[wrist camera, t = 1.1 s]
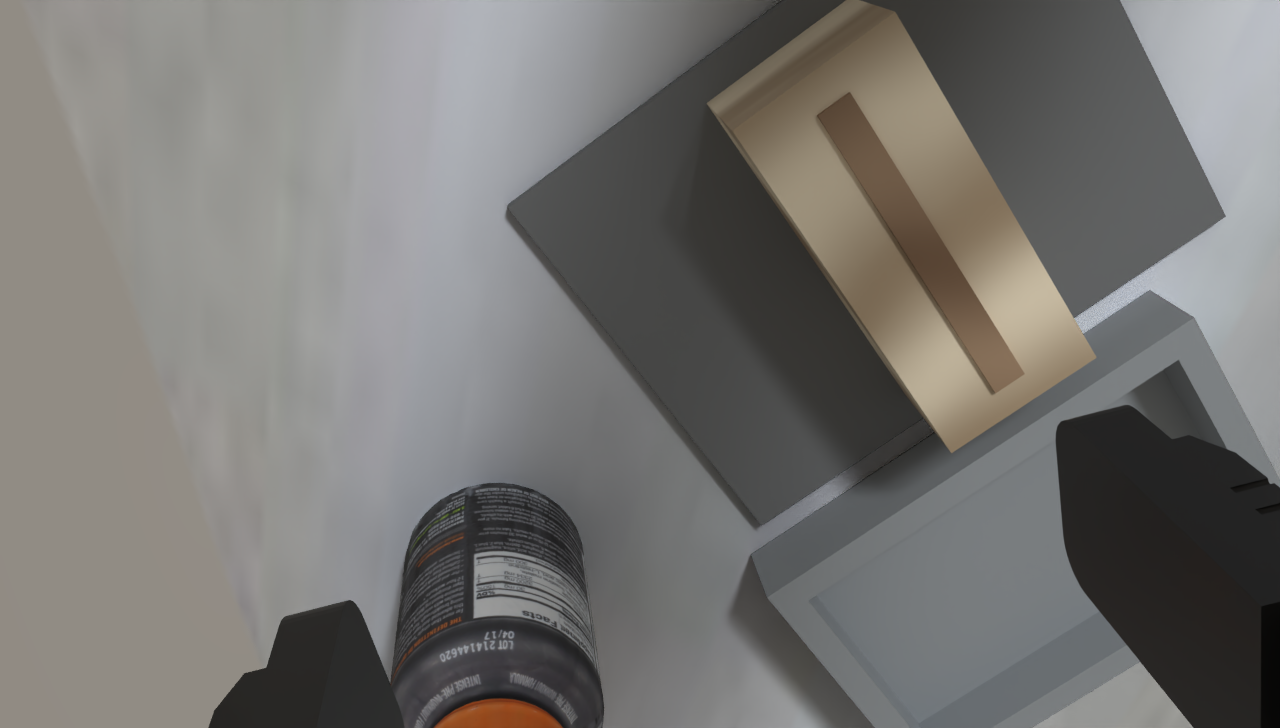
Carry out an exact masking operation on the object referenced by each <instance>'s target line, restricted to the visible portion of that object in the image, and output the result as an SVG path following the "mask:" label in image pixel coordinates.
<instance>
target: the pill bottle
mask: <svg viewBox="0 0 1280 728" xmlns="http://www.w3.org/2000/svg"><path fill="white" fill-rule="evenodd" d="M390 685H391V687H392V690H393V692H394V695H395V697H396V700H397V702H398V705H399V708H400V711H401V714H402V718H403V722H404V727H405V728H602V725H603V715H604V703H603V694H602V688H601V681H600V673H599V665H598V657H597V649H596V641H595V634H594V627H593V620H592V613H591V606H590V598H589V592H588V585H587V578H586V571H585V563H584V554H583V548H582V543H581V540H580V537H579V534H578V531H577V529H576V527H575V525H574V523H573V522H572V520H571V519H570V517H569V516H568V515H567V514H566V512H565V511H564V510H563V509H562V508H561V507H560V506H559V505H557V504H556V503H555V502H553V501H552V500H550V499H549V498H548V497H546V496H545V495H543V494H540V493H539V492H537V491H535V490H532V489H529V488H526V487H522V486H518V485H514V484H505V483H487V484H481V485H476V486H471V487H467V488H464V489H461V490H460V491H458V492H456V493H453V494H450V495H449V496H447V497H445V498H443V499H442V500H440V501H439V502H438V503H437V504H435V505H434V506H433V507H432V508H431V509H430V510H429V511H428V512H427V513H426V514H425V515H424V516H423V517H422V519H421V520H420V521H419V523H418V524H417V526H416V527H415V529H414V531H413V533H412V536H411V540H410V543H409V546H408V549H407V553H406V558H405V564H404V573H403V583H402V592H401V600H400V609H399V617H398V625H397V632H396V642H395V650H394V658H393V667H392V675H391V682H390Z"/></svg>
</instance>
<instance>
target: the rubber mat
mask: <svg viewBox="0 0 1280 728" xmlns="http://www.w3.org/2000/svg"><path fill="white" fill-rule="evenodd" d="M844 1H846V0H782V1H781V2H780V3H778V4H777V5H776V6H774V7H773V8H772V9H770V10H769V11H767V12H766V13H765V14H763V15H762V16H761V17H759V18H758V19H757V20H755V21H754V22H753V23H751V24H750V25H749V26H747V27H746V28H745V29H743V30H742V31H741V32H739V33H738V34H737V35H735V36H734V37H733V38H731V39H730V40H729V41H727V42H726V43H724V44H723V45H722V46H720V47H719V48H718V49H716V50H715V51H714V52H712V53H711V54H710V55H708V56H707V57H706V58H704V59H703V60H702V61H700V62H699V63H698V64H696V65H695V66H694V67H692V68H691V69H690V70H688V71H687V72H686V73H684V74H683V75H681V76H680V77H679V78H677V79H676V80H675V81H673V82H672V83H671V84H669V85H668V86H667V87H665V88H664V89H663V90H661V91H660V92H659V93H657V94H656V95H655V96H653V97H652V98H651V99H649V100H648V101H647V102H645V103H644V104H643V105H641V106H640V107H639V108H637V109H636V110H634V111H633V112H632V113H630V114H629V115H628V116H626V117H625V118H624V119H622V120H621V121H620V122H618V123H617V124H616V125H614V126H613V127H612V128H610V129H609V130H608V131H606V132H605V133H604V134H602V135H601V136H600V137H598V138H597V139H596V140H594V141H593V142H591V143H590V144H589V145H587V146H586V147H585V148H583V149H582V150H581V151H579V152H578V153H577V154H575V155H574V156H573V157H571V158H570V159H569V160H567V161H566V162H565V163H563V164H562V165H561V166H559V167H558V168H557V169H555V170H554V171H553V172H551V173H550V174H549V175H547V176H546V177H544V178H543V179H542V180H540V181H539V182H538V183H536V184H535V185H534V186H532V187H531V188H530V189H528V190H527V191H526V192H524V193H523V194H522V195H520V196H519V197H518V198H516V199H515V200H514V201H512V202H511V203H510V204H508V209H509V210H510V212H511V213H512V214H513V215H514V217H515V218H516V219H517V220H518V222H519V223H520V224H521V225H522V227H523V228H524V229H525V230H526V232H527V233H528V234H529V236H530V237H531V238H532V239H533V241H534V242H535V243H536V244H537V246H538V247H539V248H540V249H541V251H542V252H543V253H544V254H545V256H546V257H547V258H548V259H549V261H550V262H551V263H552V264H553V266H554V267H555V268H556V269H557V271H558V272H559V273H560V274H561V276H562V277H563V278H564V279H565V281H566V282H567V283H568V284H569V286H570V287H571V288H572V289H573V291H574V292H575V293H576V294H577V296H578V297H579V298H580V299H581V301H582V302H583V303H584V304H585V306H586V307H587V308H588V309H589V311H590V312H591V313H592V314H593V316H594V317H595V318H596V319H597V321H598V322H599V323H600V324H601V326H602V327H603V328H604V329H605V331H606V332H607V333H608V334H609V336H610V337H611V338H612V339H613V341H614V342H615V343H616V344H617V346H618V347H619V348H620V349H621V351H622V352H623V353H624V354H625V356H626V357H627V358H628V359H629V361H630V362H631V363H632V364H633V366H634V367H635V368H636V369H637V371H638V372H639V373H640V374H641V376H642V377H643V378H644V379H645V381H646V382H647V383H648V384H649V386H650V387H651V388H652V389H653V391H654V392H655V393H656V394H657V396H658V397H659V398H660V399H661V401H662V402H663V403H664V404H665V406H666V407H667V408H668V409H669V411H670V412H671V413H672V414H673V416H674V417H675V418H676V419H677V421H678V422H679V423H680V424H681V426H682V427H683V428H684V429H685V431H686V432H687V433H688V434H689V436H690V437H691V438H692V439H693V441H694V442H695V443H696V444H697V446H698V447H699V448H700V449H701V451H702V452H703V453H704V454H705V456H706V457H707V458H708V459H709V461H710V462H711V463H712V464H713V466H714V467H715V468H716V469H717V471H718V472H719V473H720V474H721V476H722V477H723V478H724V479H725V481H726V482H727V483H728V484H729V486H730V487H731V488H732V489H733V491H734V492H735V493H736V494H737V496H738V497H739V498H740V499H741V501H742V502H743V503H744V504H745V506H746V507H747V508H748V509H749V511H750V512H751V513H752V514H753V516H754V517H755V518H756V519H757V521H758V522H759V523H760V524H761V526H762V525H763V524H765V523H766V522H768V521H769V520H771V519H772V518H774V517H775V516H777V515H778V514H780V513H782V512H783V511H785V510H786V509H788V508H789V507H791V506H792V505H794V504H795V503H797V502H798V501H800V500H801V499H803V498H804V497H806V496H807V495H809V494H810V493H812V492H813V491H815V490H816V489H818V488H819V487H821V486H822V485H824V484H825V483H827V482H828V481H830V480H831V479H833V478H834V477H836V476H837V475H839V474H840V473H842V472H843V471H845V470H846V469H848V468H849V467H851V466H852V465H854V464H855V463H857V462H858V461H860V460H861V459H863V458H864V457H866V456H867V455H869V454H870V453H872V452H873V451H875V450H876V449H878V448H879V447H881V446H882V445H884V444H885V443H887V442H888V441H890V440H891V439H893V438H894V437H896V436H897V435H899V434H900V433H902V432H903V431H905V430H906V429H908V428H909V427H911V426H912V425H914V424H915V423H917V422H918V421H920V420H921V419H923V417H922V415H921V414H920V413H919V412H918V410H917V409H916V408H915V407H914V405H913V404H912V403H911V401H910V400H909V399H908V398H907V396H906V395H905V393H904V392H903V390H902V389H901V387H900V386H899V385H898V383H897V382H896V380H895V379H894V377H893V376H892V374H891V373H890V371H889V370H888V368H887V367H886V365H885V364H884V363H883V361H882V360H881V358H880V357H879V355H878V354H877V352H876V351H875V349H874V348H873V346H872V345H871V344H870V342H869V341H868V339H867V338H866V336H865V335H864V333H863V332H862V330H861V329H860V327H859V326H858V324H857V323H856V322H855V320H854V319H853V317H852V316H851V314H850V313H849V311H848V310H847V308H846V307H845V305H844V304H843V302H842V301H841V300H840V298H839V297H838V295H837V294H836V292H835V291H834V289H833V288H832V286H831V285H830V283H829V282H828V281H827V279H826V278H825V276H824V275H823V273H822V272H821V270H820V269H819V267H818V266H817V264H816V263H815V261H814V260H813V259H812V257H811V256H810V254H809V253H808V251H807V250H806V248H805V247H804V245H803V244H802V242H801V241H800V240H799V238H798V237H797V235H796V234H795V232H794V231H793V229H792V228H791V226H790V225H789V223H788V222H787V220H786V219H785V218H784V216H783V215H782V213H781V212H780V210H779V209H778V207H777V206H776V204H775V203H774V201H773V200H772V199H771V197H770V196H769V194H768V193H767V191H766V190H765V188H764V187H763V185H762V184H761V182H760V181H759V179H758V178H757V177H756V175H755V174H754V172H753V171H752V169H751V168H750V166H749V165H748V163H747V162H746V160H745V159H744V158H743V156H742V155H741V153H740V152H739V150H738V149H737V147H736V146H735V144H734V143H733V141H732V140H731V138H730V137H729V136H728V134H727V133H726V131H725V130H724V128H723V127H722V125H721V124H720V122H719V121H718V119H717V118H716V116H715V115H714V114H713V112H712V111H711V109H710V108H709V106H708V105H707V102H709V101H710V100H711V99H713V98H714V97H716V96H717V95H718V94H720V93H721V92H722V91H724V90H725V89H726V88H728V87H729V86H730V85H732V84H733V83H735V82H736V81H737V80H739V79H740V78H741V77H743V76H744V75H745V74H747V73H748V72H749V71H751V70H752V69H754V68H755V67H756V66H758V65H759V64H760V63H762V62H763V61H764V60H766V59H767V58H768V57H770V56H771V55H773V54H774V53H775V52H777V51H778V50H779V49H781V48H782V47H783V46H785V45H786V44H787V43H789V42H790V41H792V40H793V39H794V38H796V37H797V36H798V35H800V34H801V33H802V32H804V31H805V30H806V29H808V28H809V27H810V26H812V25H813V24H815V23H816V22H817V21H819V20H820V19H821V18H823V17H824V16H825V15H827V14H828V13H829V12H831V11H832V10H834V9H835V8H836V7H838V6H839V5H840V4H842V3H843V2H844ZM860 1H864V2H867V3H870V4H873V5H876V6H879V7H882V8H885V9H889V10H892V11H895V12H896V14H897V16H898V17H899V19H900V21H901V22H902V24H903V26H904V28H905V29H906V31H907V33H908V34H909V36H910V38H911V40H912V41H913V43H914V45H915V46H916V48H917V50H918V52H919V53H920V55H921V57H922V58H923V60H924V62H925V64H926V65H927V67H928V69H929V70H930V72H931V74H932V76H933V77H934V79H935V81H936V83H937V84H938V86H939V88H940V89H941V91H942V93H943V95H944V96H945V98H946V100H947V101H948V103H949V105H950V107H951V108H952V110H953V112H954V113H955V115H956V117H957V119H958V120H959V122H960V124H961V125H962V127H963V129H964V131H965V132H966V134H967V136H968V137H969V139H970V141H971V143H972V144H973V146H974V148H975V149H976V151H977V153H978V155H979V156H980V158H981V160H982V161H983V163H984V165H985V167H986V168H987V170H988V172H989V173H990V175H991V177H992V179H993V180H994V182H995V184H996V185H997V187H998V189H999V191H1000V192H1001V194H1002V196H1003V197H1004V199H1005V201H1006V203H1007V204H1008V206H1009V208H1010V210H1011V211H1012V213H1013V215H1014V216H1015V218H1016V220H1017V222H1018V223H1019V225H1020V227H1021V228H1022V230H1023V232H1024V234H1025V235H1026V237H1027V239H1028V240H1029V242H1030V244H1031V246H1032V247H1033V249H1034V251H1035V252H1036V254H1037V256H1038V258H1039V259H1040V261H1041V263H1042V264H1043V266H1044V268H1045V270H1046V271H1047V273H1048V275H1049V276H1050V278H1051V280H1052V282H1053V283H1054V285H1055V287H1056V288H1057V290H1058V292H1059V294H1060V295H1061V297H1062V299H1063V300H1064V302H1065V304H1066V306H1067V307H1068V309H1069V311H1070V312H1071V314H1072V316H1073V318H1074V317H1076V316H1077V315H1079V314H1080V313H1082V312H1083V311H1085V310H1086V309H1088V308H1089V307H1091V306H1092V305H1094V304H1095V303H1097V302H1098V301H1100V300H1101V299H1103V298H1104V297H1106V296H1107V295H1109V294H1110V293H1112V292H1113V291H1115V290H1116V289H1118V288H1119V287H1121V286H1122V285H1124V284H1125V283H1127V282H1128V281H1130V280H1131V279H1133V278H1134V277H1136V276H1137V275H1139V274H1140V273H1142V272H1143V271H1145V270H1146V269H1148V268H1149V267H1151V266H1152V265H1154V264H1155V263H1157V262H1158V261H1160V260H1161V259H1163V258H1164V257H1166V256H1167V255H1169V254H1170V253H1172V252H1173V251H1175V250H1176V249H1178V248H1179V247H1181V246H1182V245H1184V244H1185V243H1187V242H1188V241H1190V240H1191V239H1193V238H1194V237H1196V236H1197V235H1199V234H1200V233H1202V232H1203V231H1205V230H1206V229H1208V228H1209V227H1211V226H1212V225H1214V224H1215V223H1217V222H1218V221H1220V220H1221V219H1223V218H1224V217H1226V216H1225V214H1224V212H1223V210H1222V208H1221V206H1220V204H1219V201H1218V199H1217V197H1216V195H1215V193H1214V191H1213V189H1212V187H1211V185H1210V183H1209V181H1208V179H1207V177H1206V175H1205V173H1204V171H1203V169H1202V167H1201V165H1200V163H1199V161H1198V159H1197V157H1196V155H1195V153H1194V151H1193V149H1192V146H1191V144H1190V142H1189V140H1188V138H1187V136H1186V134H1185V132H1184V130H1183V128H1182V126H1181V124H1180V122H1179V120H1178V118H1177V116H1176V114H1175V112H1174V110H1173V108H1172V106H1171V104H1170V102H1169V100H1168V98H1167V96H1166V94H1165V91H1164V89H1163V87H1162V85H1161V83H1160V81H1159V79H1158V77H1157V75H1156V73H1155V71H1154V69H1153V67H1152V65H1151V63H1150V61H1149V59H1148V57H1147V55H1146V53H1145V51H1144V49H1143V47H1142V45H1141V43H1140V41H1139V39H1138V37H1137V34H1136V32H1135V30H1134V28H1133V26H1132V24H1131V22H1130V20H1129V18H1128V16H1127V14H1126V12H1125V10H1124V8H1123V6H1122V4H1121V2H1120V0H860Z"/></svg>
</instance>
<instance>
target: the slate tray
mask: <svg viewBox="0 0 1280 728" xmlns="http://www.w3.org/2000/svg"><path fill="white" fill-rule="evenodd" d="M1083 335H1084V337H1085V338H1086V340H1087V342H1088V343H1089V345H1090V347H1091V349H1092V350H1093V352H1094V354H1095V355H1096V357H1097V358H1096V359H1094V360H1092V361H1091V362H1089V363H1088V364H1086V365H1085V366H1083V367H1082V368H1080V369H1079V370H1077V371H1076V372H1074V373H1073V374H1071V375H1070V376H1068V377H1067V378H1065V379H1064V380H1062V381H1061V382H1059V383H1058V384H1056V385H1054V386H1053V387H1051V388H1050V389H1048V390H1047V391H1045V392H1044V393H1042V394H1041V395H1039V396H1038V397H1036V398H1035V399H1033V400H1032V401H1030V402H1029V403H1027V404H1026V405H1024V406H1023V407H1021V408H1020V409H1018V410H1017V411H1015V412H1013V413H1012V414H1010V415H1009V416H1007V417H1006V418H1004V419H1003V420H1001V421H1000V422H998V423H997V424H995V425H994V426H992V427H991V428H989V429H988V430H986V431H985V432H983V433H982V434H980V435H979V436H977V437H976V438H974V439H972V440H971V441H969V442H968V443H966V444H965V445H963V446H962V447H960V448H959V449H957V450H956V451H954V452H953V453H951V452H950V451H949V449H948V448H947V447H946V446H945V444H944V443H943V442H942V441H941V439H940V438H939V437H938V435H937V434H936V433H934V434H932V435H931V436H929V437H928V438H926V439H925V440H923V441H922V442H920V443H919V444H917V445H916V446H914V447H913V448H911V449H909V450H908V451H906V452H905V453H903V454H902V455H900V456H899V457H897V458H896V459H894V460H893V461H891V462H890V463H888V464H887V465H885V466H884V467H882V468H881V469H879V470H878V471H876V472H875V473H873V474H872V475H870V476H869V477H867V478H866V479H864V480H863V481H861V482H860V483H858V484H857V485H855V486H854V487H852V488H851V489H849V490H848V491H846V492H845V493H843V494H842V495H840V496H839V497H837V498H836V499H834V500H833V501H831V502H830V503H828V504H827V505H825V506H824V507H822V508H821V509H819V510H818V511H816V512H814V513H813V514H811V515H810V516H808V517H807V518H805V519H804V520H802V521H801V522H799V523H798V524H796V525H795V526H793V527H792V528H790V529H789V530H787V531H786V532H784V533H783V534H781V535H780V536H778V537H777V538H775V539H774V540H772V541H771V542H769V543H768V544H766V545H765V546H763V547H762V548H760V549H759V550H757V551H756V552H754V553H753V554H751V556H752V559H753V561H754V564H755V567H756V569H757V572H758V575H759V578H760V580H761V583H762V586H763V588H764V591H765V594H766V596H767V598H768V599H769V601H770V602H771V603H772V604H773V605H774V607H775V608H776V609H777V610H778V611H779V613H780V614H781V615H782V616H783V618H784V619H785V620H786V621H787V622H788V624H789V625H790V626H791V627H792V628H793V630H794V631H795V632H796V633H797V634H798V636H799V637H800V638H801V639H802V640H803V642H804V643H805V644H806V645H807V647H808V648H809V649H810V650H811V651H812V653H813V654H814V655H815V656H816V657H817V659H818V660H819V661H820V662H821V663H822V665H823V666H824V667H825V668H826V670H827V671H828V672H829V673H830V674H831V676H832V677H833V678H834V679H835V680H836V682H837V683H838V684H839V685H840V686H841V688H842V689H843V690H844V691H845V692H846V694H847V695H848V696H849V697H850V699H851V700H852V701H853V702H854V703H855V705H856V706H857V707H858V708H859V709H860V711H861V712H862V713H863V714H864V715H865V717H866V718H867V719H868V720H869V722H870V723H871V724H872V725H873V726H874V728H1032V727H1034V726H1035V725H1037V724H1039V723H1040V722H1042V721H1044V720H1045V719H1047V718H1049V717H1050V716H1052V715H1054V714H1055V713H1057V712H1058V711H1060V710H1062V709H1063V708H1065V707H1067V706H1068V705H1070V704H1072V703H1073V702H1075V701H1076V700H1078V699H1080V698H1081V697H1083V696H1085V695H1086V694H1088V693H1090V692H1091V691H1093V690H1094V689H1096V688H1098V687H1099V686H1101V685H1103V684H1104V683H1106V682H1108V681H1109V680H1111V679H1113V678H1114V677H1116V676H1117V675H1119V674H1121V673H1122V672H1124V671H1126V670H1127V669H1129V668H1131V667H1132V666H1134V665H1135V664H1137V663H1139V662H1140V661H1139V659H1138V658H1137V657H1136V656H1135V655H1134V653H1133V652H1132V651H1131V650H1130V648H1129V647H1128V646H1127V645H1126V643H1125V642H1124V641H1123V640H1122V638H1121V637H1120V636H1119V635H1118V634H1117V632H1116V631H1115V630H1114V629H1113V627H1112V626H1111V625H1110V624H1109V622H1108V621H1107V620H1106V619H1105V617H1104V616H1103V615H1102V614H1101V613H1100V611H1099V610H1098V609H1097V608H1096V606H1095V605H1094V604H1093V603H1092V601H1091V600H1090V599H1089V598H1088V596H1087V595H1086V594H1085V593H1084V591H1083V590H1082V588H1081V587H1080V585H1079V583H1078V581H1077V579H1076V577H1075V575H1074V573H1073V571H1072V568H1071V565H1070V563H1069V560H1068V557H1067V553H1066V549H1065V544H1064V538H1063V527H1062V515H1061V503H1060V491H1059V478H1058V466H1057V454H1056V430H1057V426H1058V424H1059V423H1060V422H1061V421H1063V420H1067V419H1071V418H1075V417H1079V416H1083V415H1087V414H1091V413H1095V412H1099V411H1103V410H1107V409H1111V408H1115V407H1119V406H1122V405H1130V406H1132V407H1134V408H1135V409H1137V410H1138V411H1139V412H1140V413H1141V414H1143V415H1144V416H1145V417H1146V418H1147V419H1149V420H1150V421H1151V422H1152V423H1153V424H1154V425H1156V426H1157V427H1158V428H1159V429H1160V430H1162V431H1163V432H1164V433H1165V434H1166V435H1168V436H1169V437H1170V438H1171V439H1175V438H1179V437H1183V436H1187V435H1190V436H1193V437H1196V438H1198V439H1201V440H1204V441H1206V442H1209V443H1212V444H1214V445H1217V446H1220V447H1222V448H1225V449H1228V450H1230V451H1233V452H1236V453H1237V454H1238V455H1239V456H1241V457H1242V458H1243V459H1244V460H1246V461H1247V462H1248V463H1249V464H1251V465H1252V466H1253V467H1255V468H1256V469H1257V470H1258V471H1260V472H1261V473H1262V474H1263V475H1265V476H1266V477H1267V478H1268V481H1269V483H1270V484H1273V483H1275V484H1276V485H1277V486H1279V487H1280V479H1279V477H1278V475H1277V474H1276V472H1275V470H1274V468H1273V466H1272V464H1271V462H1270V460H1269V458H1268V456H1267V455H1266V453H1265V451H1264V449H1263V447H1262V445H1261V443H1260V441H1259V439H1258V438H1257V436H1256V434H1255V432H1254V430H1253V428H1252V426H1251V424H1250V422H1249V420H1248V419H1247V417H1246V415H1245V413H1244V411H1243V409H1242V407H1241V405H1240V403H1239V402H1238V400H1237V398H1236V396H1235V394H1234V392H1233V390H1232V388H1231V386H1230V385H1229V383H1228V381H1227V379H1226V377H1225V375H1224V373H1223V371H1222V369H1221V367H1220V366H1219V364H1218V362H1217V360H1216V358H1215V356H1214V354H1213V352H1212V350H1211V349H1210V347H1209V345H1208V343H1207V341H1206V339H1205V337H1204V335H1203V333H1202V331H1201V330H1200V328H1199V326H1198V324H1197V322H1196V320H1195V318H1194V317H1192V316H1191V315H1189V314H1188V313H1186V312H1184V311H1183V310H1181V309H1180V308H1178V307H1176V306H1175V305H1173V304H1171V303H1170V302H1168V301H1167V300H1165V299H1163V298H1162V297H1160V296H1159V295H1157V294H1155V293H1154V292H1152V291H1151V290H1149V291H1148V292H1146V293H1145V294H1143V295H1142V296H1140V297H1139V298H1137V299H1136V300H1134V301H1133V302H1131V303H1130V304H1128V305H1127V306H1125V307H1124V308H1122V309H1121V310H1119V311H1118V312H1116V313H1115V314H1113V315H1112V316H1110V317H1109V318H1107V319H1106V320H1104V321H1103V322H1101V323H1100V324H1098V325H1097V326H1095V327H1093V328H1092V329H1090V330H1089V331H1087V332H1086V333H1084V334H1083Z"/></svg>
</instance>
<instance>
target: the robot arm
mask: <svg viewBox="0 0 1280 728" xmlns="http://www.w3.org/2000/svg"><path fill="white" fill-rule="evenodd" d="M1056 454H1057V466H1058V478H1059V491H1060V503H1061V515H1062V527H1063V538H1064V544H1065V549H1066V553H1067V557H1068V560H1069V563H1070V565H1071V568H1072V571H1073V573H1074V575H1075V577H1076V579H1077V581H1078V583H1079V585H1080V587H1081V588H1082V590H1083V591H1084V593H1085V594H1086V595H1087V596H1088V598H1089V599H1090V600H1091V601H1092V603H1093V604H1094V605H1095V606H1096V608H1097V609H1098V610H1099V611H1100V613H1101V614H1102V615H1103V616H1104V617H1105V619H1106V620H1107V621H1108V622H1109V624H1110V625H1111V626H1112V627H1113V629H1114V630H1115V631H1116V632H1117V634H1118V635H1119V636H1120V637H1121V638H1122V640H1123V641H1124V642H1125V643H1126V645H1127V646H1128V647H1129V648H1130V650H1131V651H1132V652H1133V653H1134V655H1135V656H1136V657H1137V658H1138V659H1139V661H1140V662H1141V663H1142V664H1143V666H1144V667H1145V668H1146V669H1147V671H1148V672H1149V673H1150V674H1151V676H1152V677H1153V678H1154V679H1155V680H1156V682H1157V683H1158V684H1159V685H1160V687H1161V688H1162V689H1163V690H1164V692H1165V693H1166V694H1167V695H1168V697H1169V698H1170V699H1171V700H1172V701H1173V703H1174V704H1175V705H1176V706H1177V708H1178V709H1179V710H1180V711H1181V713H1182V714H1183V715H1184V716H1185V718H1186V719H1187V720H1188V721H1189V723H1190V724H1191V725H1192V726H1193V727H1194V728H1280V487H1279V486H1277V485H1276V484H1275V483H1273V484H1270V483H1269V481H1268V478H1267V477H1266V476H1265V475H1263V474H1262V473H1261V472H1260V471H1258V470H1257V469H1256V468H1255V467H1253V466H1252V465H1251V464H1249V463H1248V462H1247V461H1246V460H1244V459H1243V458H1242V457H1241V456H1239V455H1238V454H1237V453H1236V452H1233V451H1230V450H1228V449H1225V448H1222V447H1220V446H1217V445H1214V444H1212V443H1209V442H1206V441H1204V440H1201V439H1198V438H1196V437H1193V436H1190V435H1187V436H1183V437H1179V438H1175V439H1171V438H1170V437H1169V436H1168V435H1166V434H1165V433H1164V432H1163V431H1162V430H1160V429H1159V428H1158V427H1157V426H1156V425H1154V424H1153V423H1152V422H1151V421H1150V420H1149V419H1147V418H1146V417H1145V416H1144V415H1143V414H1141V413H1140V412H1139V411H1138V410H1137V409H1135V408H1134V407H1132V406H1130V405H1122V406H1119V407H1115V408H1111V409H1107V410H1103V411H1099V412H1095V413H1091V414H1087V415H1083V416H1079V417H1075V418H1071V419H1067V420H1063V421H1061V422H1060V423H1059V424H1058V426H1057V430H1056ZM209 728H405V727H404V722H403V718H402V714H401V711H400V708H399V705H398V702H397V700H396V697H395V695H394V692H393V690H392V687H391V685H390V682H389V680H388V677H387V675H386V672H385V670H384V667H383V665H382V663H381V660H380V658H379V655H378V653H377V650H376V648H375V645H374V643H373V640H372V638H371V635H370V633H369V630H368V628H367V625H366V623H365V620H364V618H363V616H362V613H361V612H360V610H359V608H358V607H357V605H356V604H355V603H354V602H353V601H351V600H348V601H344V602H340V603H336V604H332V605H328V606H324V607H320V608H317V609H313V610H309V611H305V612H301V613H297V614H293V615H289V616H286V617H284V618H283V619H282V621H281V623H280V625H279V628H278V632H277V635H276V638H275V641H274V645H273V648H272V651H271V655H270V658H269V661H268V664H267V668H264V669H260V670H256V671H252V672H248V673H245V674H244V675H243V676H242V677H241V678H240V680H239V681H238V682H237V683H236V685H235V686H234V687H233V688H232V689H231V691H230V692H229V693H228V694H227V696H226V697H225V698H224V699H223V701H222V702H221V703H220V705H219V706H218V707H217V708H216V709H215V710H214V714H213V716H212V719H211V722H210V725H209Z"/></svg>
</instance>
